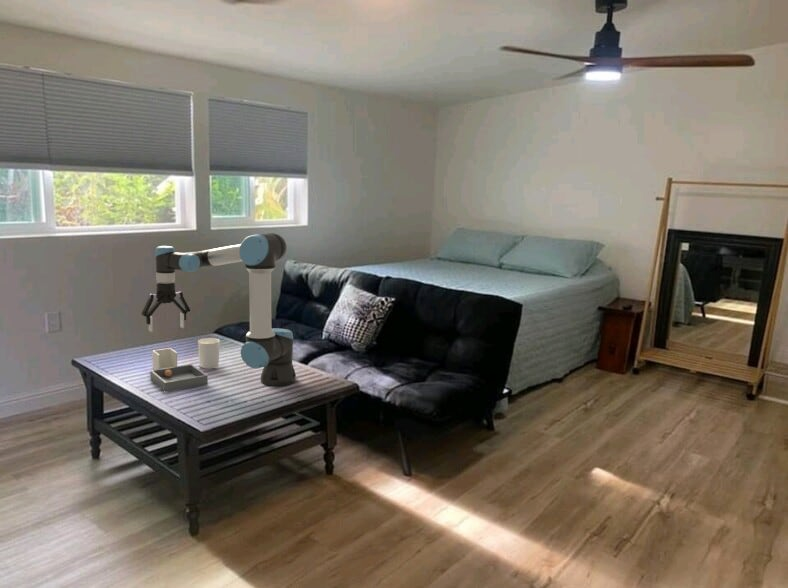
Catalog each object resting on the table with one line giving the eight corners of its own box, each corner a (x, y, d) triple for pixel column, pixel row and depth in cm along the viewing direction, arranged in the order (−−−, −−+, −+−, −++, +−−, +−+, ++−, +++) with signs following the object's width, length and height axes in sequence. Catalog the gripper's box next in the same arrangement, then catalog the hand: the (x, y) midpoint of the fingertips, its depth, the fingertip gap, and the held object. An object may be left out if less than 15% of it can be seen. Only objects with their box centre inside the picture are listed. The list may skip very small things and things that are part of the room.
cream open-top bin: (177, 371, 249) (177, 352, 247) (158, 375, 244) (158, 355, 242) (170, 367, 255) (170, 348, 253) (152, 369, 249) (152, 350, 248)
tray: (207, 384, 236) (207, 375, 235) (165, 392, 224) (164, 382, 224) (191, 372, 249) (191, 364, 248) (150, 379, 237) (150, 370, 237)
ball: (174, 374, 241) (168, 379, 239) (168, 370, 242) (163, 375, 240) (172, 370, 239) (167, 375, 237) (167, 367, 239) (162, 372, 238)
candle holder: (193, 367, 256) (193, 342, 253) (205, 361, 265) (205, 336, 263) (212, 370, 253) (212, 344, 251) (224, 364, 263) (224, 339, 261)
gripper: (190, 278, 253) (191, 324, 257) (132, 282, 237) (134, 331, 241) (197, 281, 248) (197, 327, 252) (138, 285, 231) (139, 334, 235)
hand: (166, 329), depth 246 cm, fingers open, 13 cm apart
